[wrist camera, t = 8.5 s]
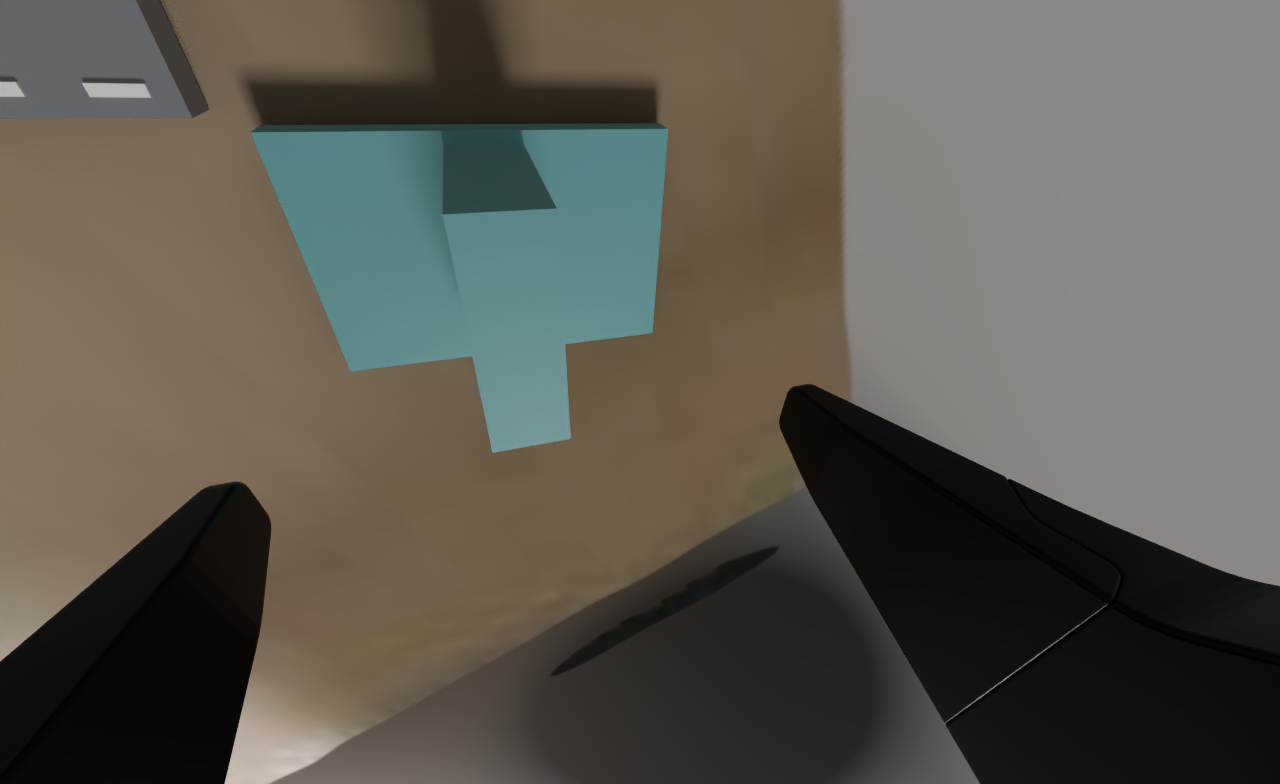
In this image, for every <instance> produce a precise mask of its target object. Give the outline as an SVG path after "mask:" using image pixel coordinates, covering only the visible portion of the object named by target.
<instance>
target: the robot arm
mask: <svg viewBox="0 0 1280 784" xmlns="http://www.w3.org/2000/svg"><path fill="white" fill-rule="evenodd" d="M779 424H780V429H781V432H782V434H783V436H784V438H785V441H786V443H787V445H788V447H789V449H790V452H791V454H792V456H793V458H794V460H795V462H796V465H797V467H798V469H799V471H800V473H801V476H802V478H803V480H804V482H805V484H806V486H807V488H808V490H809V493H810V495H811V496H812V498H813V500H814V502H815V504H816V505H817V507H818V509H819V511H820V512H821V514H822V515H823V517H824V519H825V521H826V522H827V524H828V526H829V528H830V529H831V531H832V533H833V534H834V536H835V538H836V539H837V541H838V543H839V544H840V546H841V548H842V549H843V551H844V553H845V555H846V556H847V558H848V560H849V561H850V563H851V565H852V567H853V568H854V570H855V571H856V573H857V575H858V577H859V579H860V580H861V582H862V584H863V585H864V587H865V589H866V590H867V592H868V594H869V595H870V597H871V599H872V600H873V602H874V604H875V605H876V607H877V609H878V611H879V612H880V614H881V616H882V617H883V619H884V621H885V623H886V624H887V626H888V628H889V629H890V631H891V633H892V634H893V636H894V638H895V639H896V641H897V643H898V645H899V646H900V648H901V650H902V651H903V653H904V655H905V657H906V658H907V660H908V661H909V663H910V665H911V667H912V668H913V670H914V672H915V674H916V675H917V677H918V678H919V680H920V682H921V684H922V685H923V687H924V689H925V690H926V692H927V694H928V696H929V697H930V699H931V701H932V702H933V704H934V706H935V707H936V709H937V711H938V713H939V714H940V716H941V718H942V719H943V721H944V722H945V723H946V727H947V728H948V730H949V732H950V734H951V735H952V737H953V739H954V740H955V742H956V744H957V745H958V747H959V749H960V750H961V752H962V754H963V755H964V757H965V759H966V761H967V762H968V764H969V766H970V767H971V769H972V771H973V773H974V774H975V776H976V778H977V779H978V781H979V783H980V784H1280V586H1276V585H1271V584H1266V583H1262V582H1258V581H1254V580H1250V579H1245V578H1242V577H1239V576H1236V575H1233V574H1230V573H1226V572H1224V571H1221V570H1218V569H1216V568H1213V567H1210V566H1208V565H1206V564H1203V563H1201V562H1199V561H1196V560H1194V559H1191V558H1189V557H1187V556H1184V555H1182V554H1180V553H1177V552H1175V551H1172V550H1170V549H1168V548H1165V547H1163V546H1160V545H1158V544H1156V543H1153V542H1151V541H1149V540H1146V539H1144V538H1141V537H1139V536H1137V535H1134V534H1131V533H1129V532H1127V531H1125V530H1122V529H1120V528H1118V527H1115V526H1112V525H1110V524H1108V523H1106V522H1103V521H1101V520H1098V519H1096V518H1094V517H1092V516H1090V515H1087V514H1085V513H1082V512H1080V511H1078V510H1075V509H1073V508H1071V507H1068V506H1067V505H1064V504H1062V503H1060V502H1058V501H1056V500H1053V499H1051V498H1049V497H1047V496H1045V495H1043V494H1041V493H1038V492H1036V491H1034V490H1032V489H1030V488H1028V487H1026V486H1024V485H1022V484H1020V483H1018V482H1016V481H1013V480H1011V479H1008V480H1007V478H1006V477H1005V476H1003V475H1001V474H999V473H997V472H994V471H992V470H990V469H988V468H986V467H984V466H982V465H980V464H978V463H976V462H974V461H971V460H969V459H967V458H965V457H963V456H961V455H959V454H957V453H955V452H952V451H950V450H948V449H946V448H944V447H942V446H940V445H938V444H936V443H934V442H932V441H930V440H927V439H925V438H923V437H921V436H919V435H917V434H915V433H913V432H911V431H909V430H907V429H904V428H902V427H900V426H898V425H896V424H894V423H892V422H890V421H888V420H885V419H883V418H882V417H879V416H877V415H875V414H873V413H871V412H869V411H867V410H865V409H863V408H861V407H859V406H856V405H854V404H852V403H850V402H848V401H846V400H844V399H842V398H840V397H838V396H836V395H834V394H831V393H829V392H827V391H825V390H823V389H821V388H819V387H817V386H815V385H812V384H806V385H800V386H794V387H792V388H791V389H790V390H789V391H788V393H787V396H786V399H785V402H784V405H783V408H782V412H781V415H780V419H779ZM270 538H271V522H270V518H269V516H268V514H267V512H266V511H265V510H264V508H263V507H262V505H261V504H260V503H259V501H258V500H257V499H256V497H255V496H254V494H253V493H252V492H251V490H250V489H249V488H248V487H247V485H245V484H244V483H242V482H230V483H224V484H218V485H213V486H209V487H206V488H204V489H202V490H201V491H200V492H198V493H197V494H196V495H195V496H194V497H192V498H191V499H190V500H189V501H188V502H187V503H185V504H184V505H183V506H182V507H181V508H180V509H178V510H177V511H176V512H175V513H174V514H173V515H171V516H170V517H169V518H168V519H167V520H166V521H164V522H163V523H162V524H161V525H160V526H159V527H157V528H156V529H155V530H154V531H153V532H151V533H150V534H149V535H148V536H147V537H146V538H144V539H143V540H142V541H141V542H140V543H139V544H137V545H136V546H135V547H134V548H133V549H132V550H130V551H129V552H128V553H127V554H126V555H125V556H123V557H122V558H121V559H120V560H119V561H118V562H116V563H115V564H114V565H113V566H112V567H111V568H109V569H108V570H107V571H106V572H105V573H103V574H102V575H101V576H100V577H99V578H98V579H96V580H95V581H94V582H93V583H92V584H91V585H89V586H88V587H87V588H86V589H85V590H84V591H82V592H81V593H80V594H79V595H78V596H77V597H75V598H74V599H73V600H72V601H71V602H70V603H68V604H67V605H66V606H65V607H64V608H63V609H61V610H60V611H59V612H58V613H57V614H55V615H54V616H53V617H52V618H51V619H50V620H48V621H47V622H46V623H45V624H44V625H43V626H41V627H40V628H39V629H38V630H37V631H36V632H34V633H33V634H32V635H31V636H30V637H29V638H27V639H26V640H25V641H24V642H23V643H22V644H20V645H19V646H18V647H17V648H16V649H15V650H13V651H12V652H11V653H10V654H9V655H7V656H6V657H5V658H4V659H3V660H2V661H0V784H224V783H225V779H226V775H227V771H228V766H229V762H230V758H231V754H232V749H233V745H234V741H235V737H236V732H237V728H238V724H239V720H240V715H241V711H242V707H243V703H244V699H245V694H246V690H247V686H248V682H249V677H250V673H251V669H252V665H253V660H254V656H255V652H256V648H257V643H258V638H259V633H260V628H261V621H262V614H263V605H264V596H265V586H266V576H267V567H268V557H269V548H270Z"/></svg>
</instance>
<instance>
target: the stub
mask: <svg viewBox="0 0 1280 784" xmlns="http://www.w3.org/2000/svg"><path fill="white" fill-rule="evenodd" d="M251 134H252V137H253V139H254V141H255V144H256V146H257V149H258V151H259V153H260V156H261V158H262V161H263V163H264V165H265V168H266V170H267V173H268V175H269V177H270V180H271V182H272V184H273V187H274V189H275V192H276V194H277V196H278V199H279V201H280V204H281V206H282V208H283V211H284V213H285V216H286V218H287V220H288V223H289V225H290V228H291V230H292V232H293V235H294V237H295V240H296V242H297V244H298V247H299V249H300V252H301V254H302V256H303V259H304V261H305V263H306V266H307V268H308V271H309V273H310V275H311V278H312V280H313V283H314V285H315V287H316V290H317V292H318V295H319V297H320V299H321V302H322V304H323V307H324V309H325V311H326V314H327V316H328V319H329V321H330V323H331V326H332V328H333V330H334V333H335V335H336V338H337V340H338V342H339V345H340V347H341V350H342V352H343V354H344V357H345V359H346V362H347V364H348V366H349V369H350V371H358V370H366V369H374V368H382V367H390V366H397V365H405V364H413V363H421V362H429V361H437V360H444V359H452V358H460V357H468V356H472V357H473V362H474V366H475V371H476V376H477V381H478V385H479V390H480V395H481V400H482V404H483V409H484V414H485V419H486V423H487V428H488V433H489V438H490V442H491V447H492V452H493V453H495V452H500V451H506V450H511V449H517V448H522V447H528V446H533V445H539V444H544V443H550V442H555V441H561V440H567V439H571V435H570V419H569V402H568V385H567V368H566V351H565V344H570V343H578V342H586V341H594V340H601V339H609V338H617V337H625V336H633V335H641V334H649V333H652V331H653V319H654V306H655V293H656V280H657V267H658V254H659V241H660V228H661V215H662V203H663V190H664V177H665V164H666V151H667V138H668V128H666V127H664V126H663V125H661V124H659V123H573V124H368V125H260V126H259V127H257V128H256V129H255V130H253V131H252V132H251Z"/></svg>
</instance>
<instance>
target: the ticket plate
mask: <svg viewBox="0 0 1280 784" xmlns="http://www.w3.org/2000/svg"><path fill="white" fill-rule="evenodd" d="M207 110H209V108H208V106H207V104H206V101H205V99H204V97H203V95H202V93H201V90H200V88H199V86H198V84H197V82H196V79H195V77H194V75H193V73H192V71H191V68H190V66H189V64H188V62H187V60H186V58H185V55H184V53H183V51H182V49H181V47H180V44H179V42H178V40H177V38H176V36H175V33H174V31H173V29H172V27H171V25H170V22H169V20H168V18H167V16H166V14H165V11H164V9H163V7H162V5H161V3H160V0H0V118H193V117H195V116H197V115H199V114H201V113H203V112H205V111H207Z"/></svg>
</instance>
